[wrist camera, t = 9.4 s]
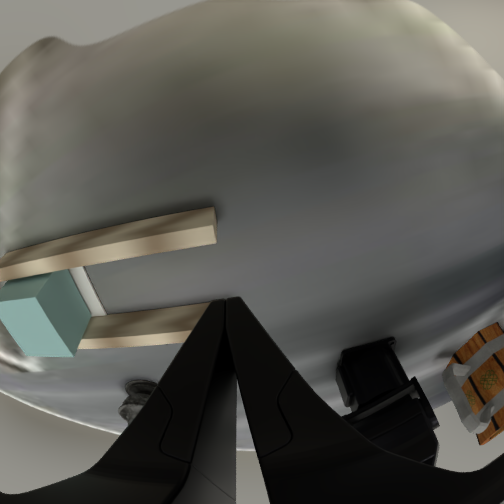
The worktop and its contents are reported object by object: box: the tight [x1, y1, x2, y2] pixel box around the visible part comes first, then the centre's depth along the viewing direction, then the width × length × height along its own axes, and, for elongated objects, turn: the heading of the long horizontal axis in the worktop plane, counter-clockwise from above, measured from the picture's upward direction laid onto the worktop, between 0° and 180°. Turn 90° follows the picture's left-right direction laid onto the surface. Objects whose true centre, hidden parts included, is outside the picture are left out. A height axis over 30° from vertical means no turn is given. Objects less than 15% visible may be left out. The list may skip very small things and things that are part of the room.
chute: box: [0, 207, 217, 349], centre depth 20 cm, size 20×9×3 cm, turn 97°
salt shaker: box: [118, 380, 158, 425], centre depth 25 cm, size 6×6×12 cm
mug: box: [442, 322, 504, 445], centre depth 28 cm, size 20×14×15 cm
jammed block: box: [0, 269, 92, 357], centre depth 19 cm, size 6×6×5 cm
